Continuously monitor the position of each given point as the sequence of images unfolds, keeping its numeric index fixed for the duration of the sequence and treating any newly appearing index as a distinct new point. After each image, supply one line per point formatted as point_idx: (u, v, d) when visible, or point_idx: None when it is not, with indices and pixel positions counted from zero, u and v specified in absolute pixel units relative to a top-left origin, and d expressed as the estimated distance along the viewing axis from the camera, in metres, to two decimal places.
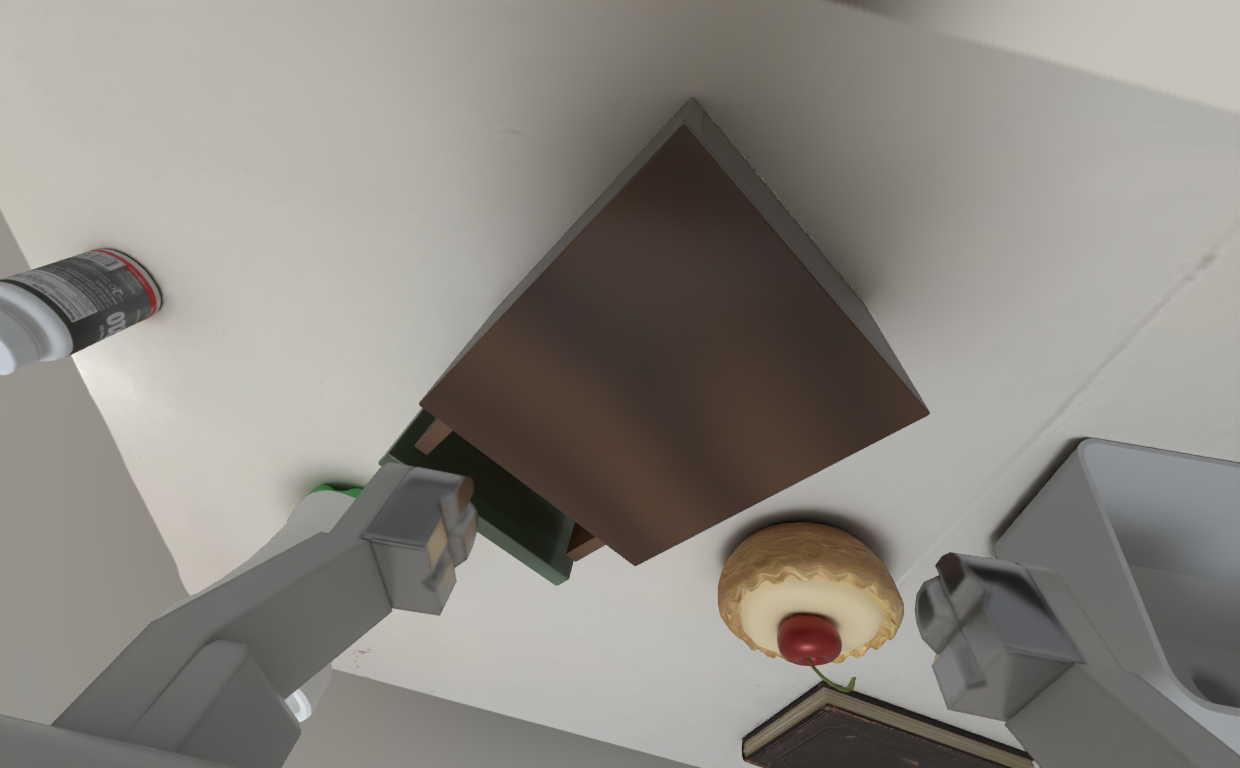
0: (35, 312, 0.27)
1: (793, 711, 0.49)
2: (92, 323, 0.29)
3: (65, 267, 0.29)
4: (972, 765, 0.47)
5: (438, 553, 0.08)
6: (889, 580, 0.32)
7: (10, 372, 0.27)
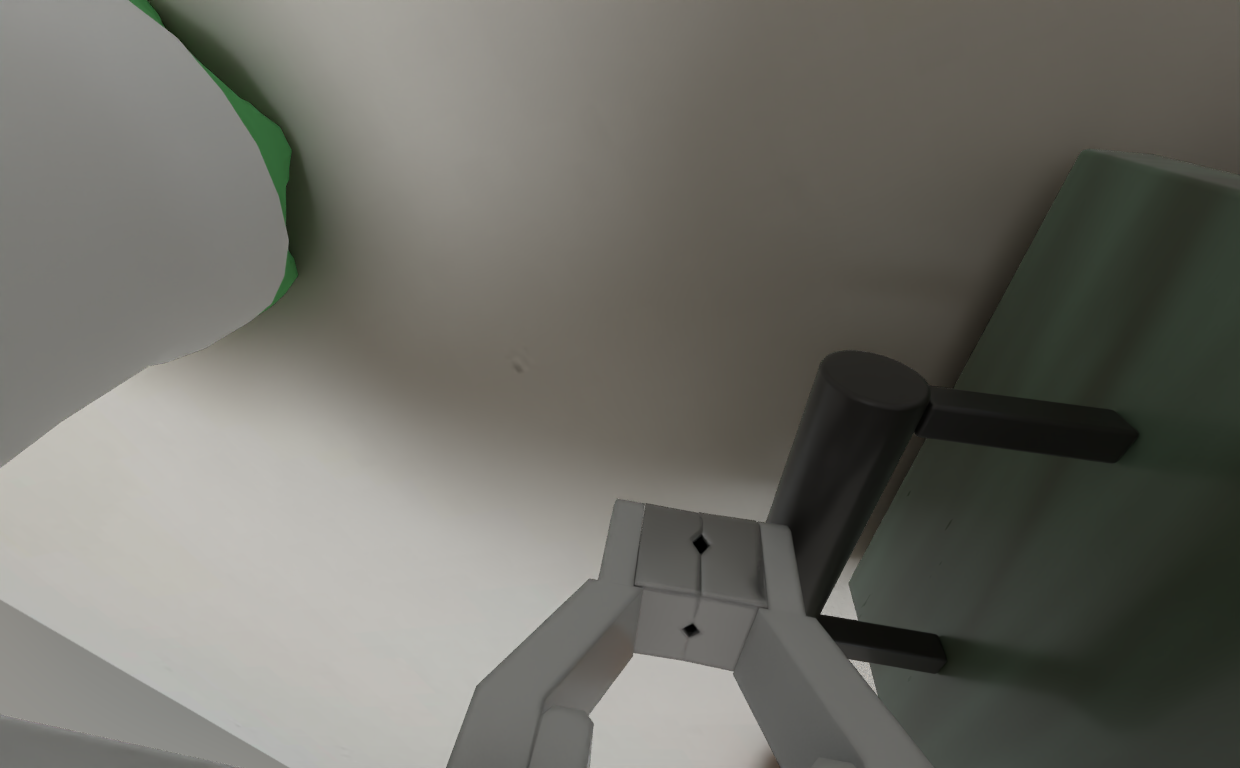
0: None
1: None
2: None
3: None
4: None
5: None
6: None
7: None
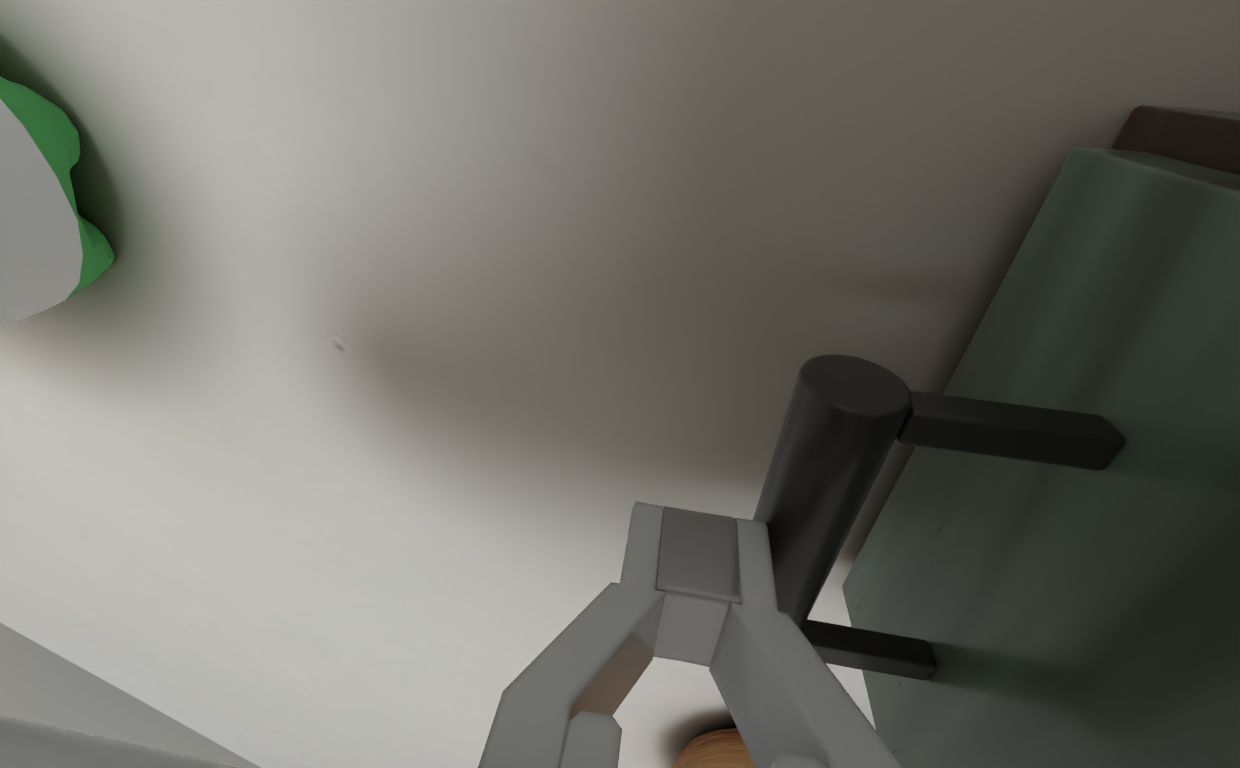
0: None
1: None
2: None
3: None
4: None
5: None
6: None
7: None
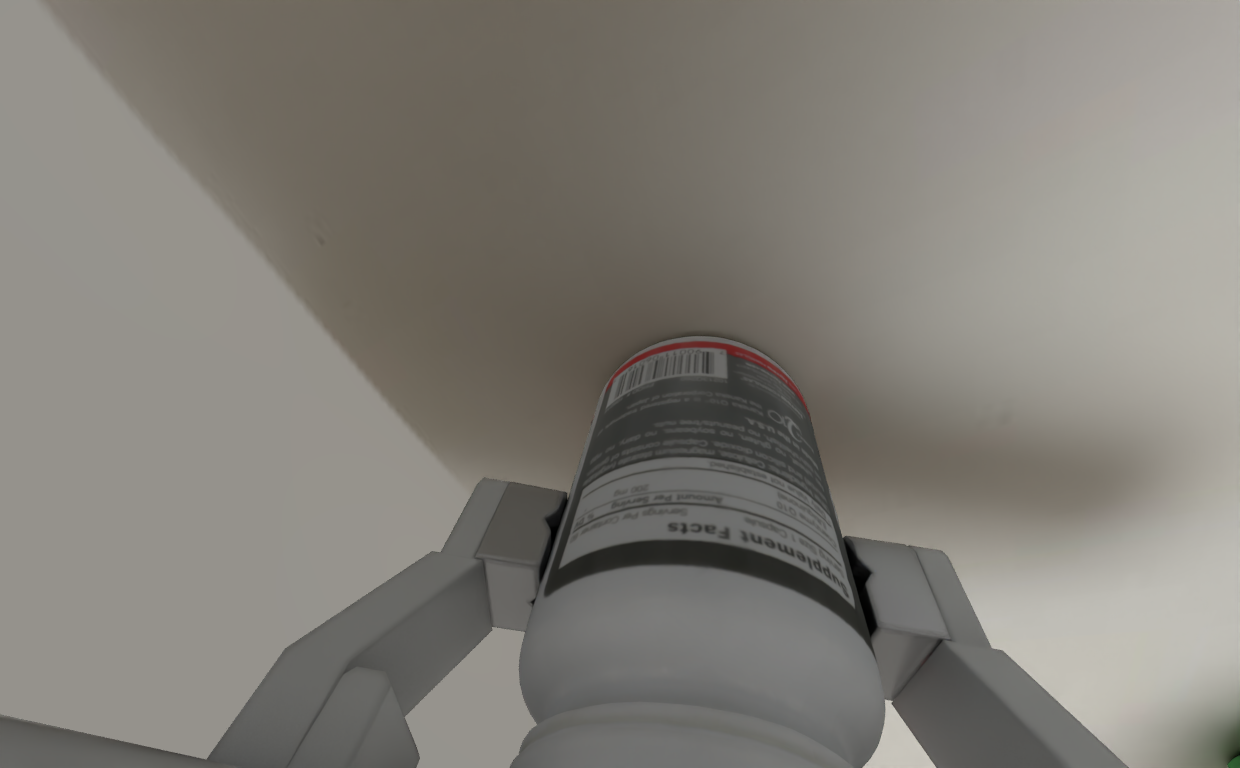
0: (789, 651, 0.05)
1: None
2: (851, 571, 0.07)
3: (652, 426, 0.08)
4: None
5: None
6: None
7: None
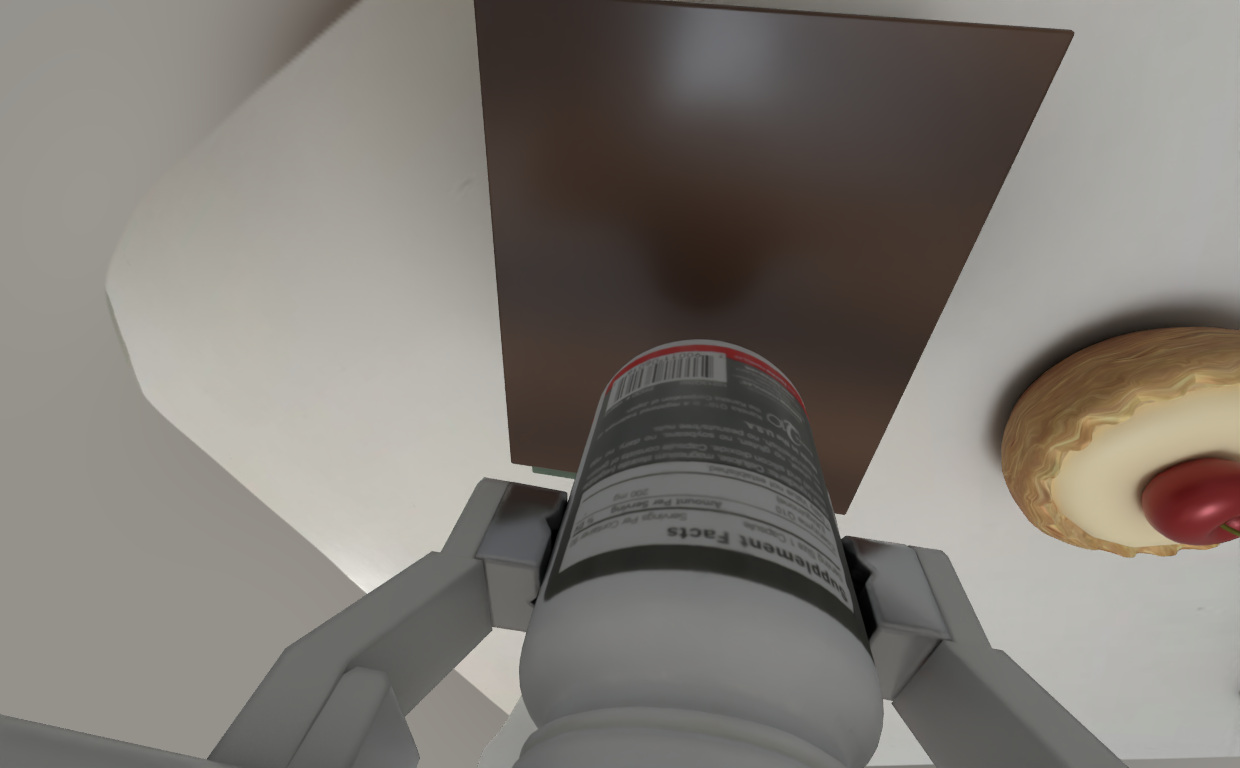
0: (787, 655, 0.05)
1: None
2: (849, 575, 0.07)
3: (651, 430, 0.08)
4: None
5: None
6: None
7: None
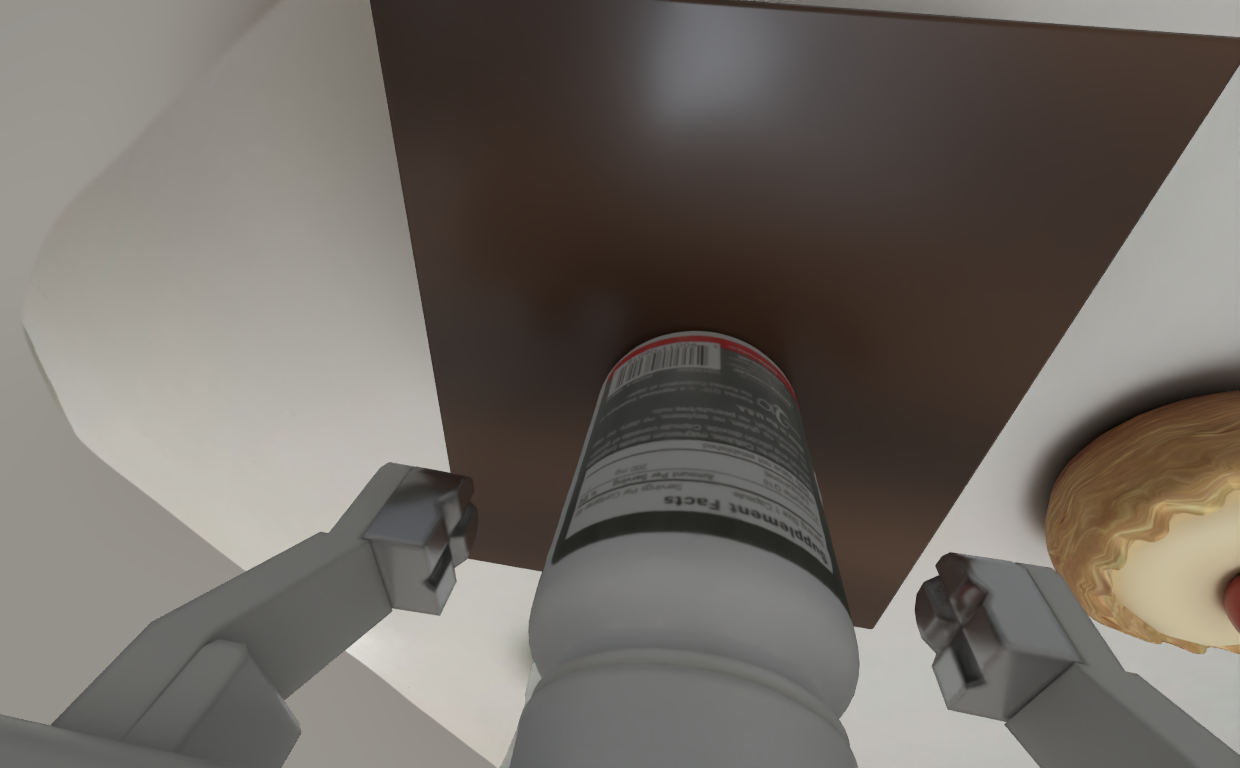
0: (769, 605, 0.06)
1: None
2: (831, 544, 0.08)
3: (650, 413, 0.09)
4: None
5: (438, 553, 0.08)
6: None
7: None
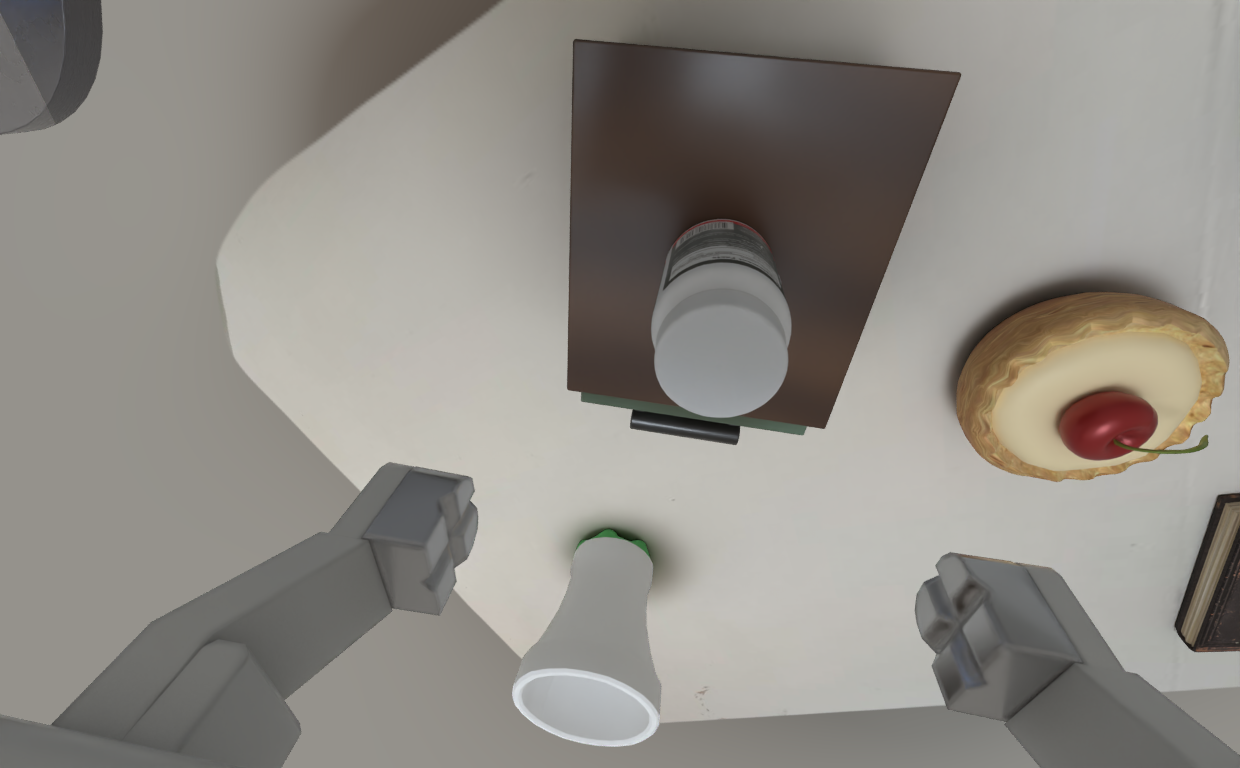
0: (754, 282, 0.16)
1: (1211, 556, 0.37)
2: (783, 291, 0.17)
3: (701, 242, 0.18)
4: None
5: (438, 553, 0.08)
6: (1158, 303, 0.25)
7: (775, 391, 0.15)
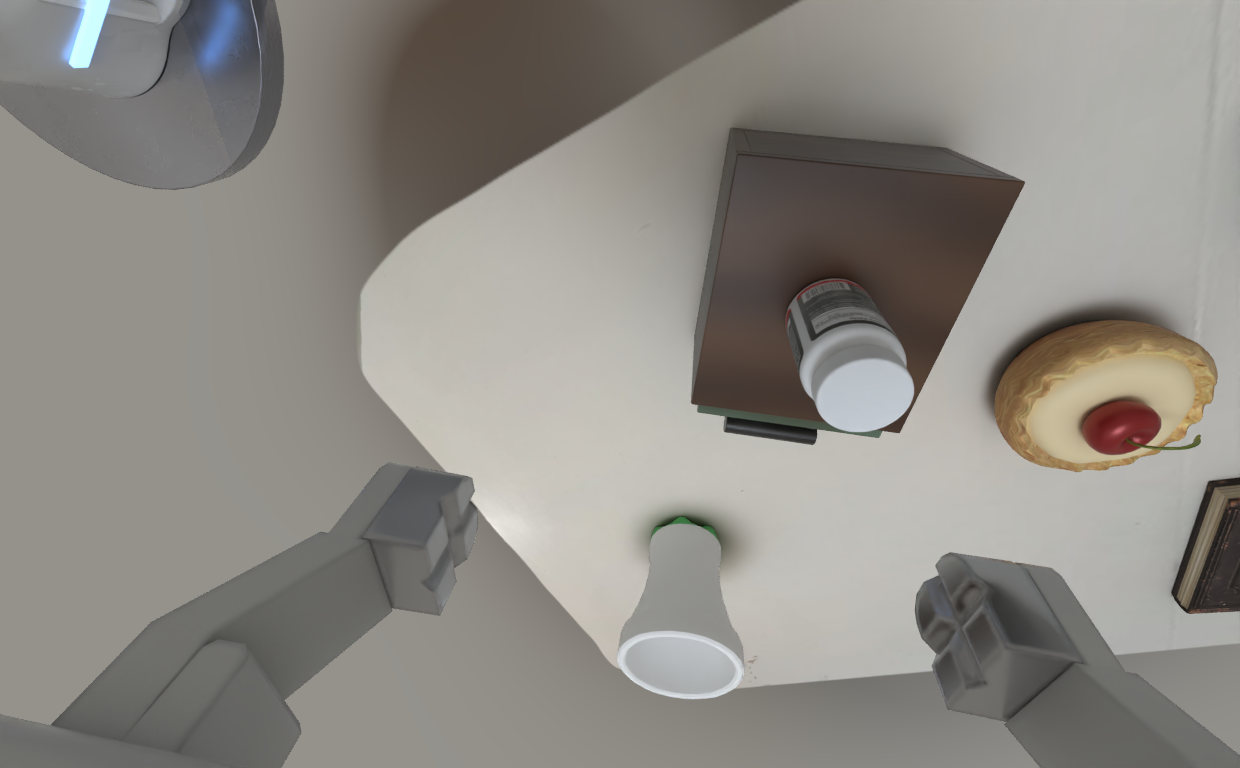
0: (885, 338, 0.22)
1: (1202, 532, 0.44)
2: None
3: (831, 301, 0.25)
4: None
5: (438, 553, 0.08)
6: (1162, 331, 0.32)
7: (901, 414, 0.22)
